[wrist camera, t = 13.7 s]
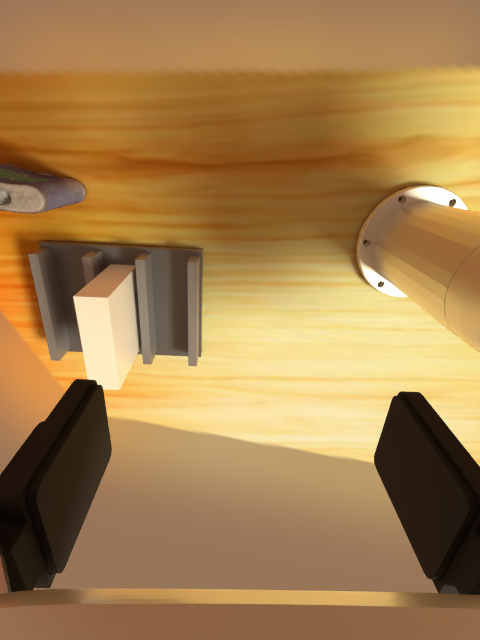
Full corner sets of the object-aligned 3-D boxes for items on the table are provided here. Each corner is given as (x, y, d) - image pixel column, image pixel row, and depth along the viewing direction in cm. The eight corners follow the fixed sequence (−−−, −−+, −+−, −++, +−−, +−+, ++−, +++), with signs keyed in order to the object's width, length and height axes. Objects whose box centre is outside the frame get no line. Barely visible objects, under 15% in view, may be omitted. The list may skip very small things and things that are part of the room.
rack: (202, 249, 39) (199, 258, 35) (201, 352, 45) (198, 369, 41) (44, 240, 38) (24, 249, 35) (64, 346, 44) (49, 363, 41)
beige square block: (137, 265, 39) (107, 297, 30) (143, 341, 43) (119, 389, 34) (110, 264, 38) (73, 296, 29) (120, 340, 43) (89, 388, 34)
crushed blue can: (88, 181, 36) (33, 190, 26) (87, 209, 37) (34, 227, 27) (-4, 159, 35) (-96, 159, 25) (-2, 188, 36) (-89, 200, 26)
